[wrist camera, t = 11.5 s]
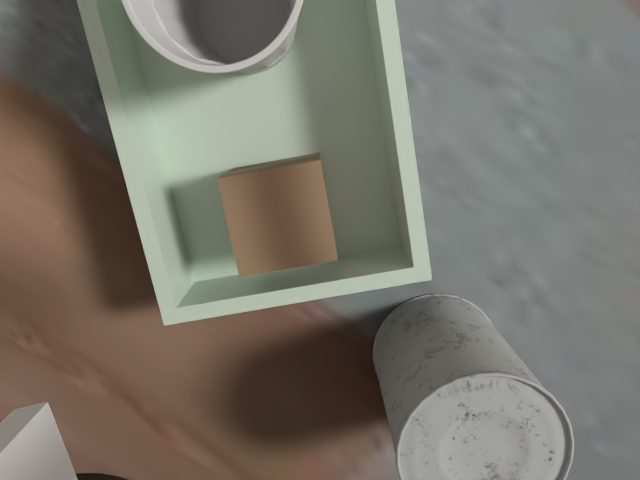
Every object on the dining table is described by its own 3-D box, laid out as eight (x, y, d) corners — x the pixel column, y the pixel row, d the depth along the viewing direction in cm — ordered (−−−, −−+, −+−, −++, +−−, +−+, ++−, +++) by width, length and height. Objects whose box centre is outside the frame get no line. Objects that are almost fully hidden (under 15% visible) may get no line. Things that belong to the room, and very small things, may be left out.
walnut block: (251, 251, 37) (239, 277, 31) (233, 168, 36) (216, 178, 30) (334, 236, 37) (337, 260, 31) (319, 152, 35) (320, 160, 30)
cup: (271, 109, 35) (248, 108, 23) (164, 45, 34) (83, 9, 22) (333, -2, 33) (341, -64, 21) (222, -73, 32) (168, -179, 20)
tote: (187, 293, 39) (163, 325, 33) (97, -60, 33) (50, -97, 27) (414, 254, 38) (431, 279, 32) (362, -113, 32) (372, -163, 26)
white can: (356, 389, 41) (372, 504, 29) (396, 277, 38) (432, 351, 26) (470, 421, 41) (532, 547, 29) (516, 313, 39) (604, 401, 27)
